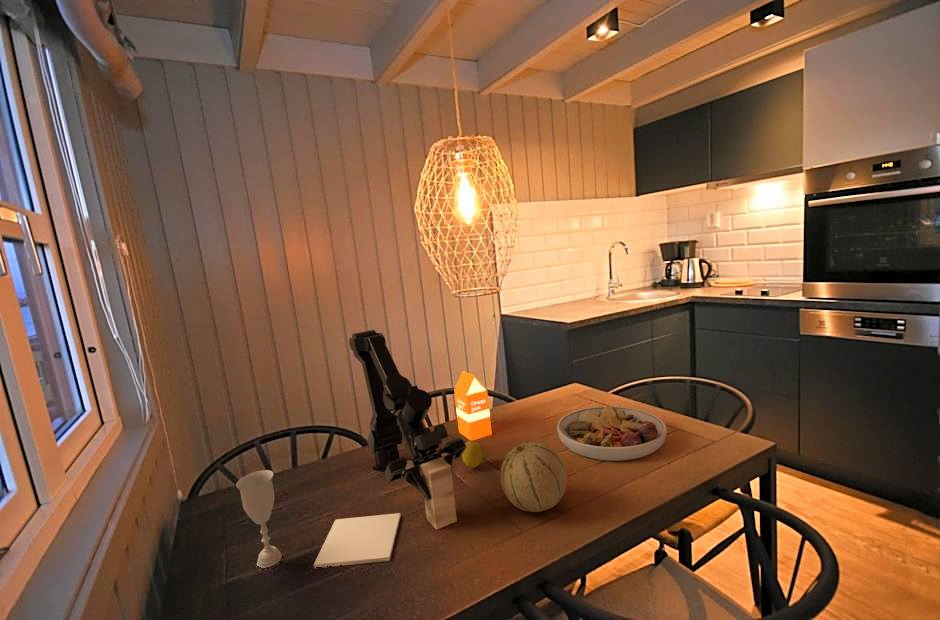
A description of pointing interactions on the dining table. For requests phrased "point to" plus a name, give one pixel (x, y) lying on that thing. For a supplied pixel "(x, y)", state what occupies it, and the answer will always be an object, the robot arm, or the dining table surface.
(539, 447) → the cantaloupe
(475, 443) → the lemon
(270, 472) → the chalice
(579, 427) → the bowl
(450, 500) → the wood block
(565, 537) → the dining table surface
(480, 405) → the orange juice
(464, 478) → the dining table surface
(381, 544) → the tile
